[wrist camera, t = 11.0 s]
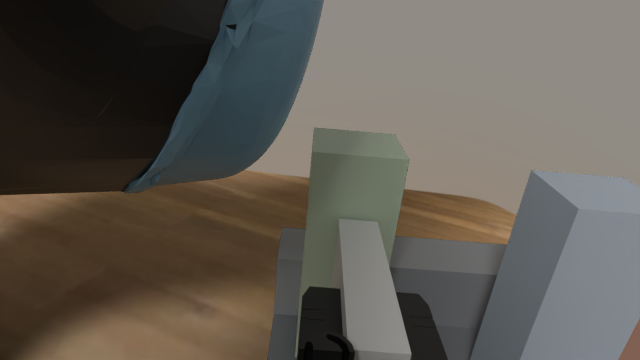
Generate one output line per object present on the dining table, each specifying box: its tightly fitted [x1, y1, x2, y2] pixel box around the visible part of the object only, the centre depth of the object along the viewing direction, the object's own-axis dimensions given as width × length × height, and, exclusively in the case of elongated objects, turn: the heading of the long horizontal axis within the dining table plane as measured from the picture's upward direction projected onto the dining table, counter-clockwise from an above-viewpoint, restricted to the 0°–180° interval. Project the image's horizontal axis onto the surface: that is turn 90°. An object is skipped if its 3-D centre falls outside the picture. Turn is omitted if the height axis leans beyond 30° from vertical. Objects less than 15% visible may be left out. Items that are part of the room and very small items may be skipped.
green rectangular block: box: [295, 128, 409, 357], centre depth 18 cm, size 4×3×10 cm
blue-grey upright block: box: [470, 170, 640, 360], centre depth 16 cm, size 4×3×10 cm
